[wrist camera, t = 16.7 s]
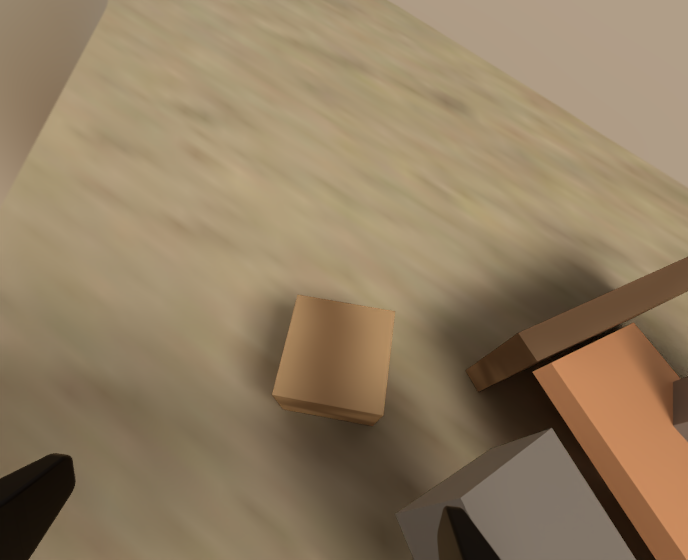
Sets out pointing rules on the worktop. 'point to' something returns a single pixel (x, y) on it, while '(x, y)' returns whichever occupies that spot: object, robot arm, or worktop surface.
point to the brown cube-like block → (335, 360)
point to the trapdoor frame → (579, 324)
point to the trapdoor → (564, 477)
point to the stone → (680, 406)
